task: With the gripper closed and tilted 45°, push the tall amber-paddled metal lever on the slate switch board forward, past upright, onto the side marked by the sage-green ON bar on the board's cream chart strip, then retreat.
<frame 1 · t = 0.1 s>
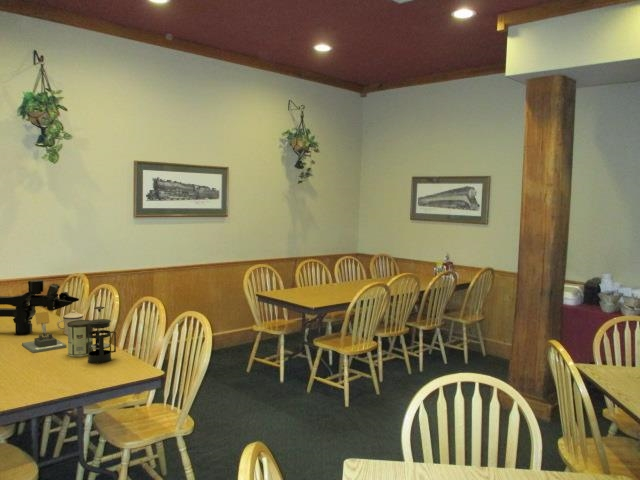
hand: (75, 301, 268), 17 cm above the table, tool horizontal, fingers open, 9 cm apart
teacup with lid: (70, 334, 269), on the table
french press: (100, 360, 227), on the table
coffee can: (80, 354, 236), on the table
lever: (42, 321, 245), point 12 cm above the table, hinge at -25.0°
switch board: (45, 347, 244), on the table
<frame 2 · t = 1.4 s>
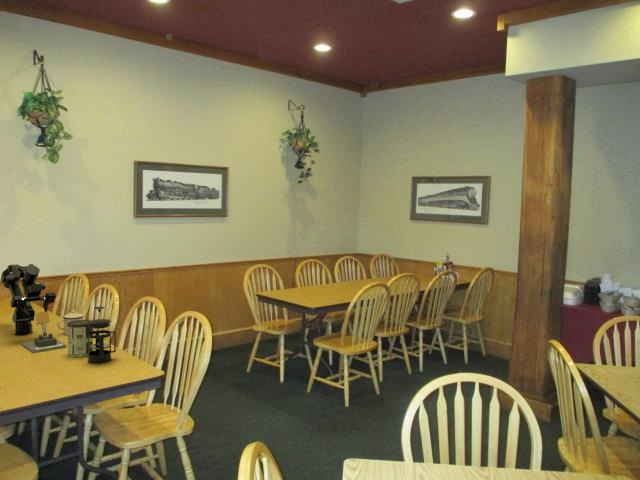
hand: (38, 314, 250), 14 cm above the table, tool tilted 45°, fingers open, 7 cm apart
nothing on the table moved.
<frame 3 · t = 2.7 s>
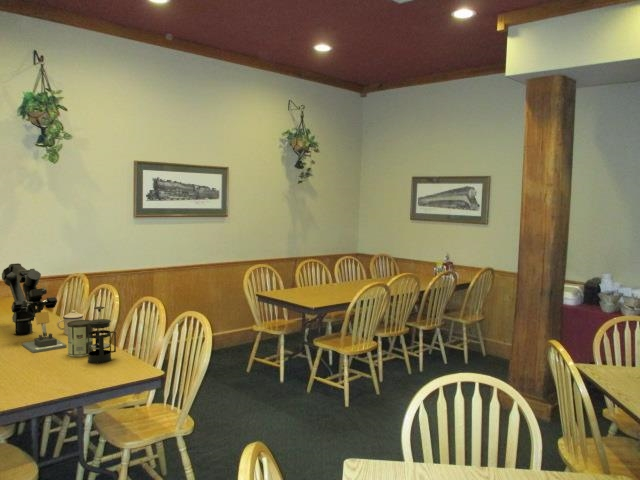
hand: (39, 319, 249), 12 cm above the table, tool tilted 45°, fingers closed
nothing on the table moved.
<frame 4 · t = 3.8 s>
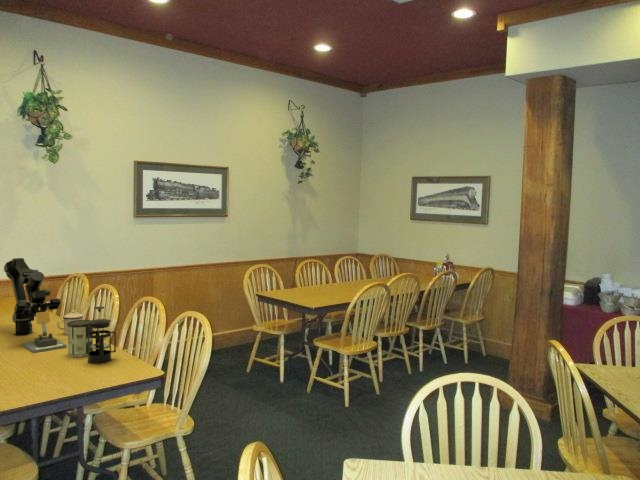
hand: (42, 320, 246), 12 cm above the table, tool tilted 45°, fingers closed, pressing on lever
lever: (43, 320, 245), point 12 cm above the table, hinge at -20.7°, touching gripper
everything else where it was.
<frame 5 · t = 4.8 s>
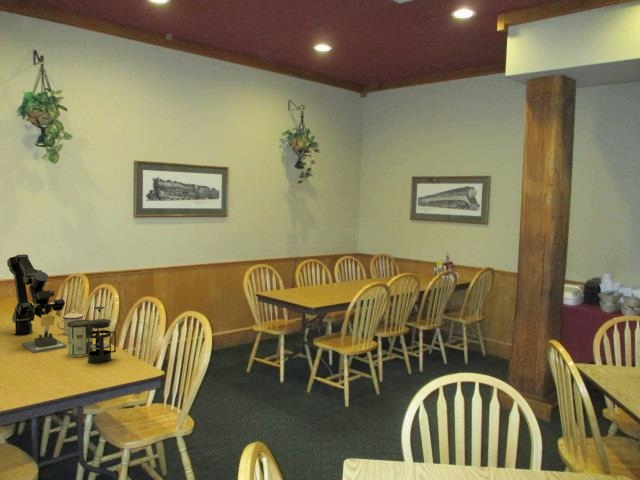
hand: (46, 321, 242), 12 cm above the table, tool tilted 45°, fingers closed, pressing on lever
lever: (47, 322, 241), point 12 cm above the table, hinge at 19.4°, touching gripper
everything else where it was.
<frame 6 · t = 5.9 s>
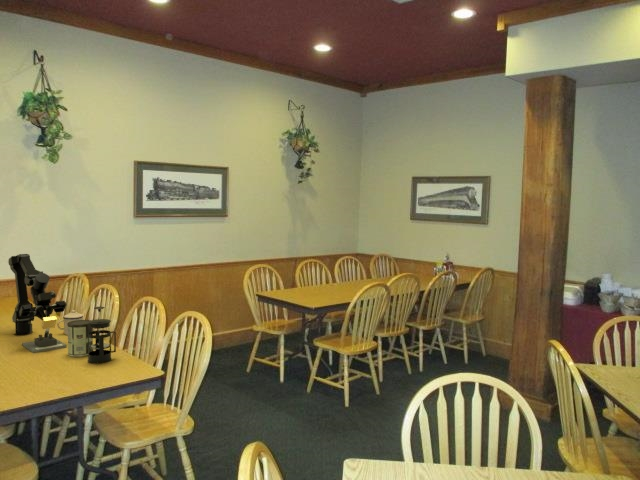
hand: (47, 323, 240), 12 cm above the table, tool tilted 45°, fingers closed, pressing on lever
lever: (48, 325, 240), point 11 cm above the table, hinge at 31.7°, touching gripper
everything else where it was.
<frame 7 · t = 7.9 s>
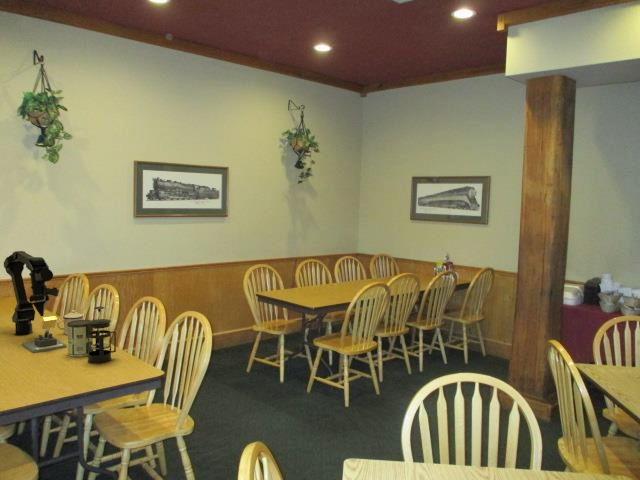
hand: (42, 316, 253), 12 cm above the table, tool pointing down, fingers closed
lever: (48, 325, 240), point 11 cm above the table, hinge at 31.7°
everything else where it was.
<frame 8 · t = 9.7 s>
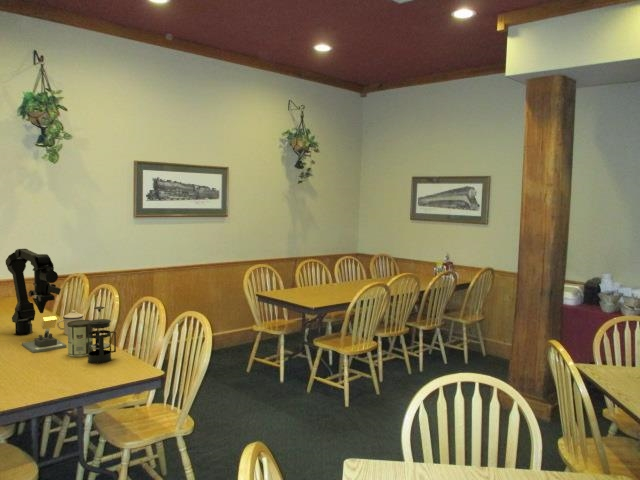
hand: (41, 313, 255), 13 cm above the table, tool pointing down, fingers closed
nothing on the table moved.
at the end: lever at +32° (first picture: -25°); coffee can moved 0.2 cm from its start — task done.
